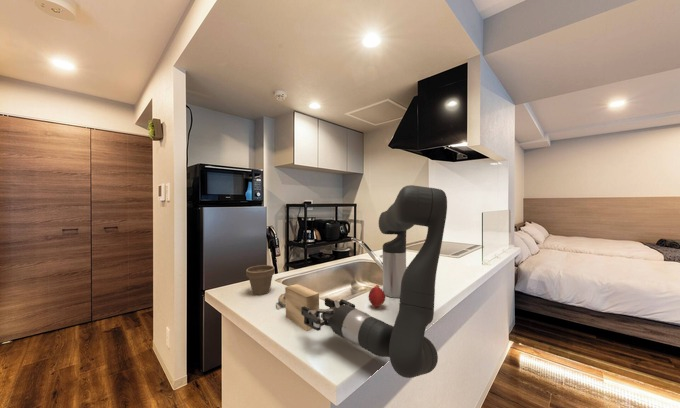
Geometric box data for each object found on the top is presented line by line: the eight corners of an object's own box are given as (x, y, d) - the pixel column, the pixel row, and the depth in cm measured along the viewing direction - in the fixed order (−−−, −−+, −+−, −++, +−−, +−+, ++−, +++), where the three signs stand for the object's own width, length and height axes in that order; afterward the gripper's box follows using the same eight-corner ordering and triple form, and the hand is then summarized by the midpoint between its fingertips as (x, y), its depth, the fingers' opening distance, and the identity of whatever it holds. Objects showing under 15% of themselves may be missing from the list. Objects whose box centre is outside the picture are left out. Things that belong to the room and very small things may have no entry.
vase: (290, 301, 94) (290, 286, 94) (292, 309, 89) (292, 292, 89) (275, 303, 92) (276, 288, 92) (277, 311, 87) (277, 294, 87)
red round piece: (371, 311, 85) (371, 288, 85) (366, 304, 91) (366, 282, 91) (387, 309, 86) (387, 286, 86) (381, 303, 92) (381, 281, 92)
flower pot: (247, 289, 108) (246, 265, 108) (274, 286, 112) (273, 263, 112) (245, 299, 97) (245, 273, 97) (275, 295, 101) (275, 270, 101)
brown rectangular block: (297, 313, 85) (296, 283, 85) (319, 325, 76) (318, 293, 76) (285, 317, 82) (285, 287, 82) (307, 331, 73) (306, 297, 73)
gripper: (372, 302, 67) (332, 286, 79) (332, 319, 57) (293, 299, 69) (372, 329, 67) (332, 310, 79) (332, 352, 57) (293, 326, 69)
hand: (314, 305), depth 74 cm, fingers open, 8 cm apart
